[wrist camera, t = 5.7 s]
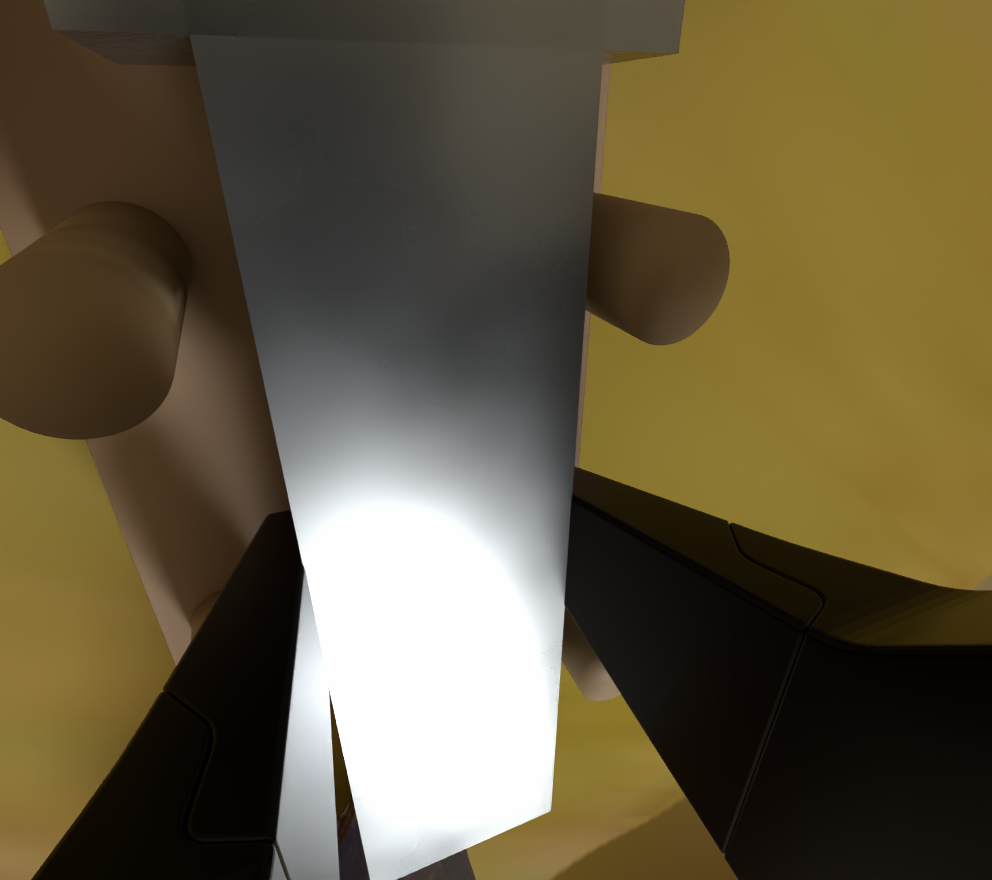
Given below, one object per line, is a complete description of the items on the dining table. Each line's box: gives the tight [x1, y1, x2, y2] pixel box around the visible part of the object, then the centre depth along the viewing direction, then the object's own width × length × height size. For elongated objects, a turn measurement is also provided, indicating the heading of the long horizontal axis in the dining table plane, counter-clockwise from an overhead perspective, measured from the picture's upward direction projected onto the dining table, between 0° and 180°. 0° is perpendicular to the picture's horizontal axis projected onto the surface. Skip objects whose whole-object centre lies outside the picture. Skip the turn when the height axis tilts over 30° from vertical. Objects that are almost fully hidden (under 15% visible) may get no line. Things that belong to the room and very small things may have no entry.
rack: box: [0, 0, 730, 707], centre depth 10 cm, size 9×14×5 cm, turn 179°
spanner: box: [43, 0, 685, 880], centre depth 8 cm, size 5×16×3 cm, turn 179°
